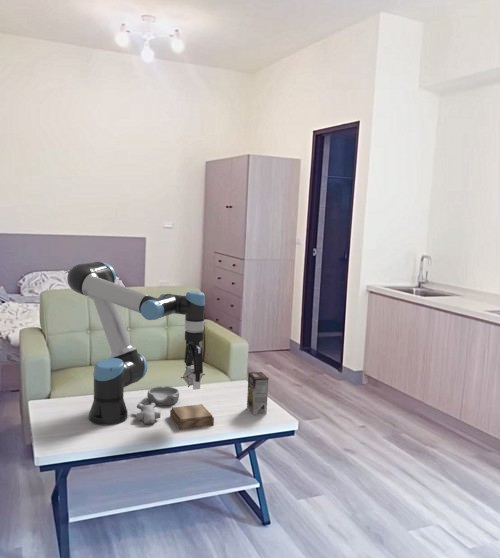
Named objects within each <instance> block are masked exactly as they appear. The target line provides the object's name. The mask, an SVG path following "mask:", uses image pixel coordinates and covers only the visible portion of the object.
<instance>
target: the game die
mask: <svg viewBox="0 0 500 558" xmlns="http://www.w3.org/2000/svg"><path fill="white" fill-rule="evenodd" d="M193 372H194V366H193V367H190V368H187V367H186V366H185V370H184V374H183V376H180V379H182V380H184V381H185V383H186V384H187V385H188V386H187V388H189V387H190V386H193ZM205 375H206V374H205V373H201V377H200V381H201V380H202V378H203V376H205Z"/></svg>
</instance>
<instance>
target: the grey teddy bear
mask: <svg viewBox="0 0 500 558" xmlns="http://www.w3.org/2000/svg"><path fill="white" fill-rule="evenodd" d="M156 406H157V405H155V403H150V402H149V404H143V403H138V404H137V405H136V409H139V410H140V412H138V413H136V420H139V421H143V424H155V422H156V420H158V419H161V412H160V411H157V410H155V408H156Z"/></svg>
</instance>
